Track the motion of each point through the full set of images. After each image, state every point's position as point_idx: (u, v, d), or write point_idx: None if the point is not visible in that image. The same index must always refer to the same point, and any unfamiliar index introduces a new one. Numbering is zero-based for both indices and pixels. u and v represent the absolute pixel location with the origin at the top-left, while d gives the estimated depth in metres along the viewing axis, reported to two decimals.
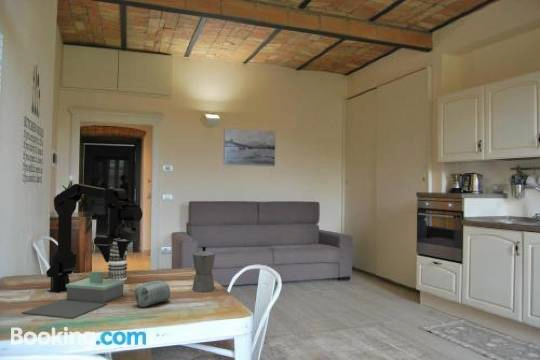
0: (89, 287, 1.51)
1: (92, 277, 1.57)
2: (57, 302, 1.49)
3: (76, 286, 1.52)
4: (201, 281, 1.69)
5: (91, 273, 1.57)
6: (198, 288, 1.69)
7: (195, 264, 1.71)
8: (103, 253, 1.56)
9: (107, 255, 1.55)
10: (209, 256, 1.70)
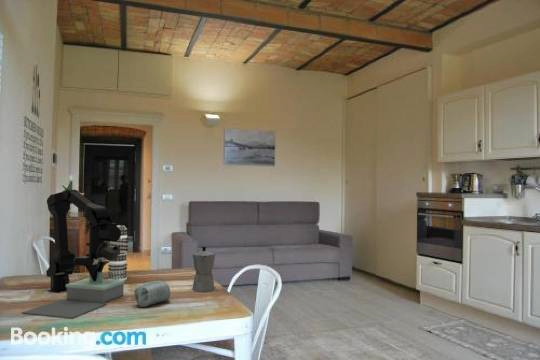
0: (89, 287, 1.51)
1: None
2: (57, 302, 1.49)
3: (76, 286, 1.52)
4: (201, 281, 1.69)
5: None
6: (198, 288, 1.69)
7: (195, 264, 1.71)
8: (90, 272, 1.56)
9: (94, 274, 1.56)
10: (209, 256, 1.70)
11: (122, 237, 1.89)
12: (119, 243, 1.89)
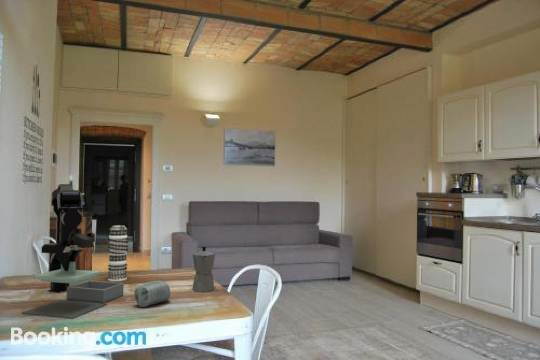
0: (59, 278, 1.36)
1: None
2: (57, 302, 1.49)
3: (45, 277, 1.38)
4: (201, 281, 1.69)
5: None
6: (198, 288, 1.69)
7: (195, 264, 1.71)
8: (61, 261, 1.41)
9: (66, 263, 1.41)
10: (209, 256, 1.70)
11: (122, 237, 1.89)
12: (119, 243, 1.89)
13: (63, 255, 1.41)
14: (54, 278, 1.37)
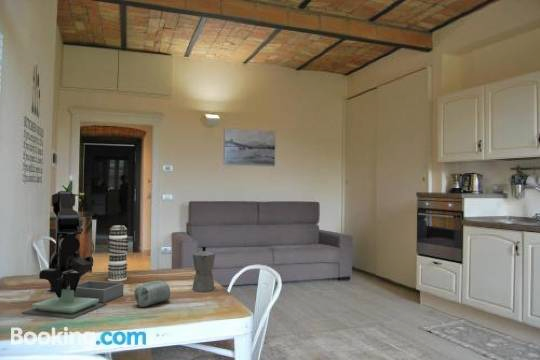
0: (57, 308, 1.36)
1: (62, 296, 1.42)
2: None
3: (43, 306, 1.37)
4: (201, 281, 1.69)
5: None
6: (198, 288, 1.69)
7: (195, 264, 1.71)
8: (54, 287, 1.38)
9: (59, 289, 1.38)
10: (209, 256, 1.70)
11: (122, 237, 1.89)
12: (119, 243, 1.89)
13: (56, 281, 1.38)
14: (52, 308, 1.36)
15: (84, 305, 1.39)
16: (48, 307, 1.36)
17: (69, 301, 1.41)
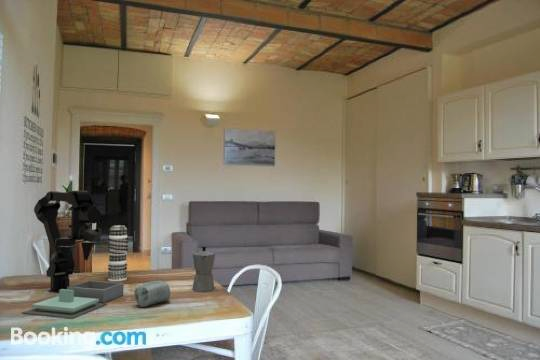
0: (57, 308, 1.36)
1: (62, 296, 1.42)
2: None
3: (43, 306, 1.37)
4: (201, 281, 1.69)
5: (61, 291, 1.42)
6: (198, 288, 1.69)
7: (195, 264, 1.71)
8: (65, 255, 1.57)
9: (69, 256, 1.56)
10: (209, 256, 1.70)
11: (122, 237, 1.89)
12: (119, 243, 1.89)
13: (67, 249, 1.57)
14: (52, 308, 1.36)
15: (84, 305, 1.39)
16: (48, 307, 1.36)
17: (69, 301, 1.41)
